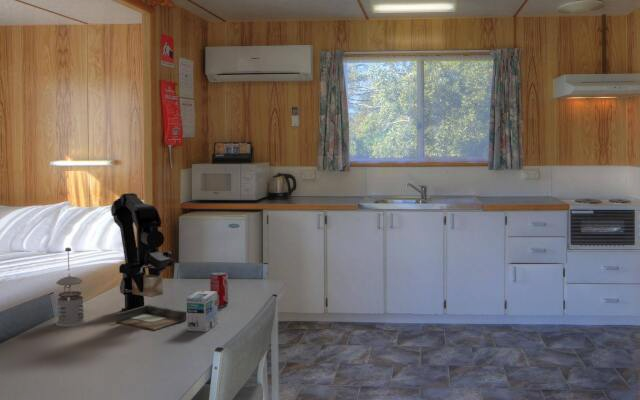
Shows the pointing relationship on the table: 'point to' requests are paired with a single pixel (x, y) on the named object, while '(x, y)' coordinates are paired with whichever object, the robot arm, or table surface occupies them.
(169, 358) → the table surface
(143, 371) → the table surface
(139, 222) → the robot arm
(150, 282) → the maple block
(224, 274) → the soda can
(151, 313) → the tray
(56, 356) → the table surface
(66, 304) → the french press
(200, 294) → the light bulb box
